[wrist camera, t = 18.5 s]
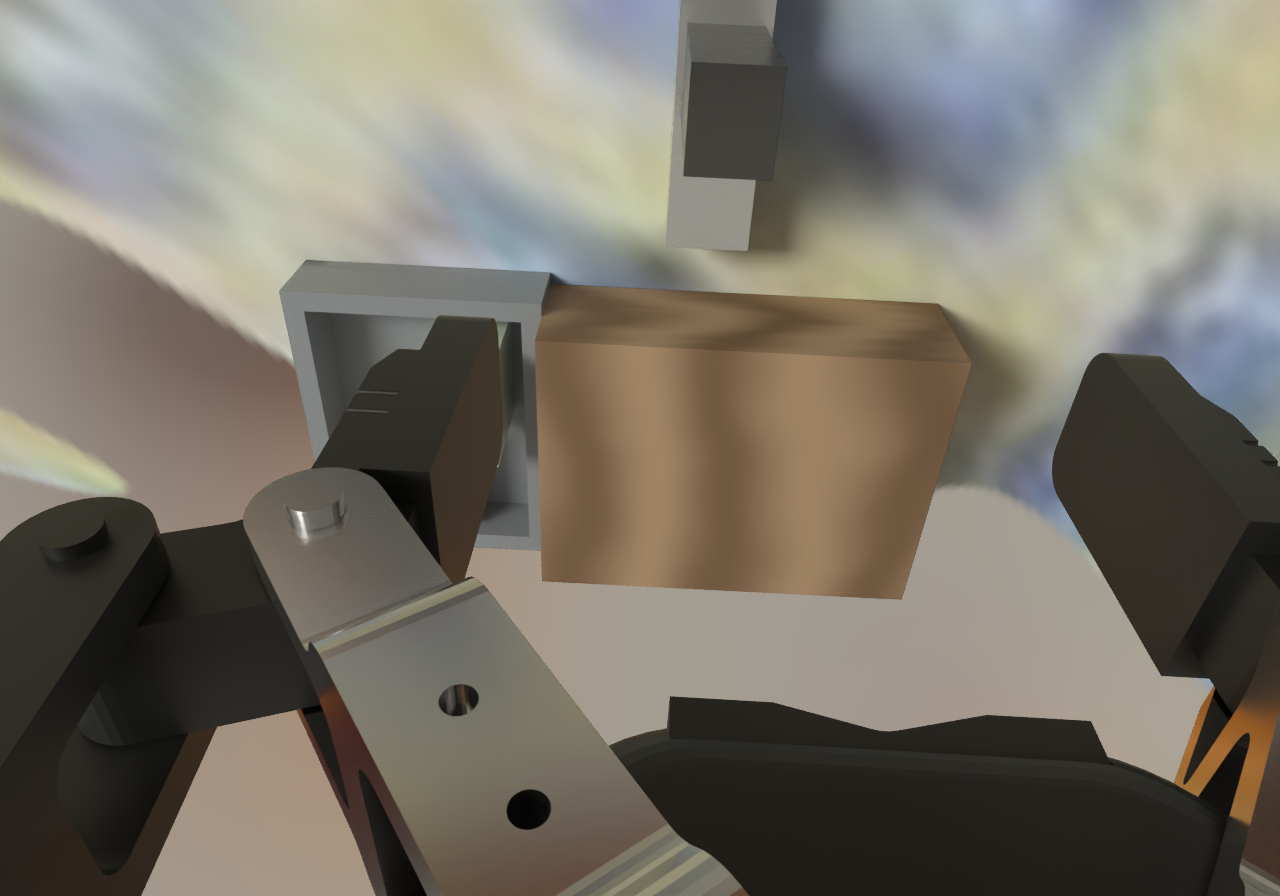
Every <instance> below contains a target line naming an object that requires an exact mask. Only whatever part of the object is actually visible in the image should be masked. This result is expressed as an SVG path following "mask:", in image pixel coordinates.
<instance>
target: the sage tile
mask: <svg viewBox="0 0 1280 896" xmlns="http://www.w3.org/2000/svg"><path fill="white" fill-rule="evenodd" d="M496 324H497V329H498V340H499V357H500V374H501V391H502V408H503V438H502V447H501V454H500V459H501V456H502V452H503V448H504V445H505V441H506V438H507V434H508V430H509V427H510V423H511V420H512V416H513V412H514V409H515V400H514V379H513V357H512V336H511V322H503V321H496ZM500 459H499V463H500ZM499 463H498V466H497V467H499Z"/></svg>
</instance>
